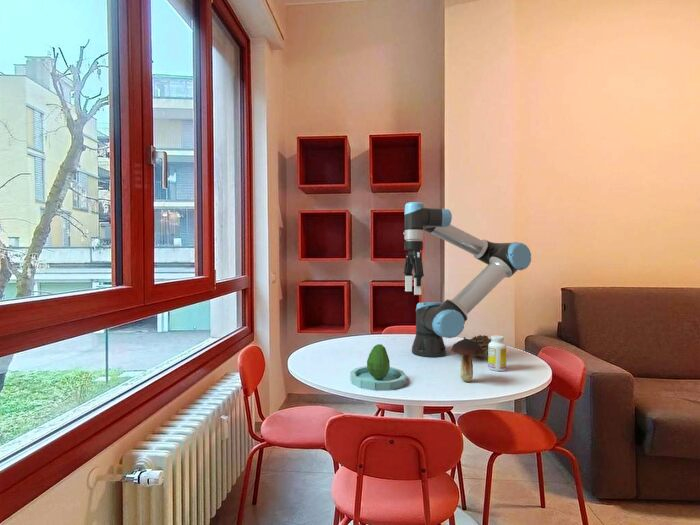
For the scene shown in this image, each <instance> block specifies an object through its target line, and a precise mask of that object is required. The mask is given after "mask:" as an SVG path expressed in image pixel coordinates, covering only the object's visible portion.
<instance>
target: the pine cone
mask: <svg viewBox="0 0 700 525" xmlns="http://www.w3.org/2000/svg"><path fill="white" fill-rule="evenodd" d="M463 339H467V338H466V337H465V336H464V337H463ZM469 339H470V340H472V341H474V342H476V343H477V344H478V345H480V346H481V348H482V349H483V353H480V354H477V355H475V356H476V357H478V358H479V357H481V358H485V357H487V358H488V344H489V343H490V342H492V340H491V338H489V336H488V335H481V334H479V335H477V336H476V335H474V337H472V338H469Z"/></svg>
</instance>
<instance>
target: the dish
mask: <svg viewBox="0 0 700 525" xmlns="http://www.w3.org/2000/svg"><path fill="white" fill-rule="evenodd" d="M349 381H350V382H351V383H350V384H352V385H353V386H355V385H356V387H358V388H360V389H364V388H366V389H365V390H370V389H371V390H370V391H392V390H396V389H397V390H398V389H400V388H403V387H404V386H405V385H406V383H407V374H406V373H405V372H404V371H403V370H401V369H399V368H395V367H391V366H390V368H389V371H388V374H387V375H386V376H385V377H384V378H383V379H376V378H374V377H373V376H372V375H371V374H370V373H369V371H368V368H367V365H366V366H365V365H364V366H359V367H356V368H354V369H351V371H350V373H349Z"/></svg>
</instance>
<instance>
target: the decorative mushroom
mask: <svg viewBox="0 0 700 525" xmlns="http://www.w3.org/2000/svg"><path fill="white" fill-rule="evenodd" d="M470 339H471V338H466V339H464V338H463V339H461V340H458V341H457V342H455V343H453V345H452V346H451V348H450V351H451V352H452V353H455V354H457V355H462V357H461V360H460V361H461V362H460V372H459V374H460V375H459V376H460V379H461V380H462V381H463V382H465V383H469V382H471V381H472V380H473V379H474V378H473V377H474V368H473V367H474V365H473V358H472V357H473V356H476V355H477V354H480V353H483V349H482V348H481V346H480V345H478V344H477V343H476V342H474V341H472V340H470Z"/></svg>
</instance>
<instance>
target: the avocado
mask: <svg viewBox="0 0 700 525" xmlns="http://www.w3.org/2000/svg"><path fill="white" fill-rule="evenodd" d="M390 365H391V364H390V358H389V354H388V352H387V349H386V347H385V346H384V345H383V344H382V343H380V344H376V345H374V346H373V347H372V348H371V350H370V352H369V354H368V357H367V360H366V366H367V368H368V371H369V373H370V374H371V375H372V376H373V377H374V378H376V379H383V378H384V377H385V376H386V375H387V374H388V371H389V368H390V367H391V366H390Z"/></svg>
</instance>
